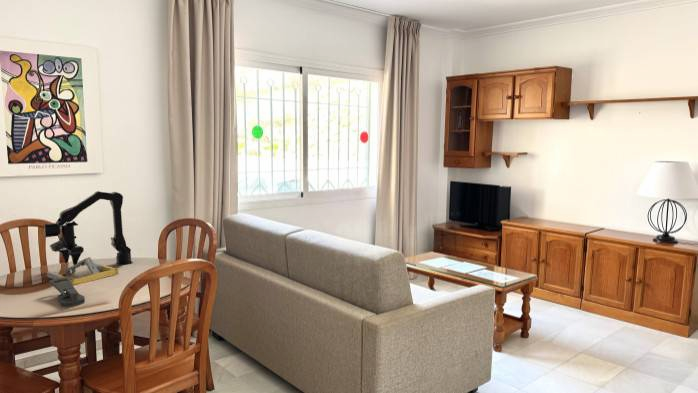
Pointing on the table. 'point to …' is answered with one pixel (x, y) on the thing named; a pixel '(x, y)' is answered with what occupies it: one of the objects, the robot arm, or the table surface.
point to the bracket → (81, 263)
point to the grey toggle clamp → (67, 292)
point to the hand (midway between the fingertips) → (70, 264)
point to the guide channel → (108, 272)
